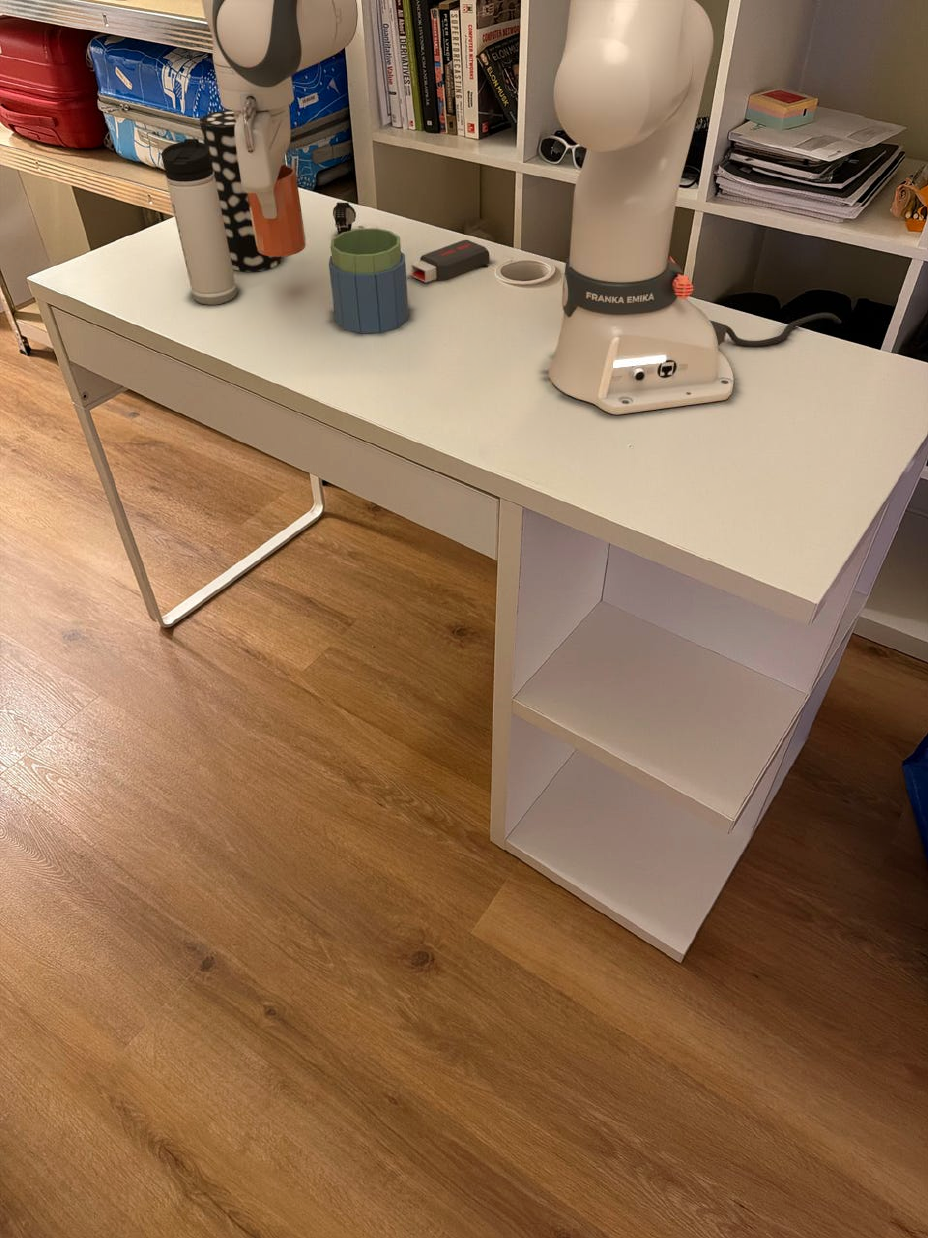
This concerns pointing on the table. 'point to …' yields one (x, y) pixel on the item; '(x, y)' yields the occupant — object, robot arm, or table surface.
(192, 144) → the travel mug
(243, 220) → the spotted tube
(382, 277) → the cup stack
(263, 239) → the terracotta cup
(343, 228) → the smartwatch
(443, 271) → the usb drive
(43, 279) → the table surface
